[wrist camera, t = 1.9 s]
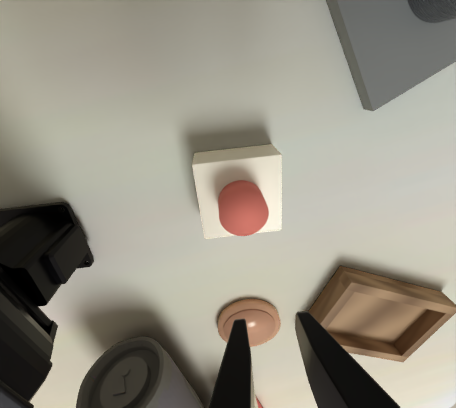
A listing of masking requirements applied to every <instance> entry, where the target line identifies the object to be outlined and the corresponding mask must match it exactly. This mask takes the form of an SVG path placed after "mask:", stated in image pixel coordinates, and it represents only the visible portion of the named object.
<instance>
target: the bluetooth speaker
mask: <svg viewBox="0 0 456 408" xmlns="http://www.w3.org/2000/svg"><path fill="white" fill-rule="evenodd" d="M76 408H204V407H203V405H202V403H201V401H200V399H199V398H198V396H197V394H196V392H195V391H194V389H193V388H192V386H191V385H190V384H189V383H188V382H187V380H186V378H185V377H184V375H183V374H182V372H181V371H180V370H179V368H178V367H177V366H176V364H175V363H174V361H173V360H172V358H171V357H170V356H169V354H168V353H167V352H166V351H165V350H164V349H163V348H162V346H161V345H160V344H159V343H158V342H157V341H156V340H154V339H152V338H150V337H136V338H131V339H128V340H125V341H122V342H119V343H118V344H116V345H114V346H112V347H111V348H110V349H109V350H107V351H106V352H105V353H104V354H103V355H102V356H101V357H100V358H99V359H98V360H97V361H96V362H95V363H94V364H93V366H92V367H91V368H90V370H89V371H88V373H87V374H86V376H85V378H84V379H83V382H82V384H81V386H80V389H79V393H78V398H77V404H76Z"/></svg>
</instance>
